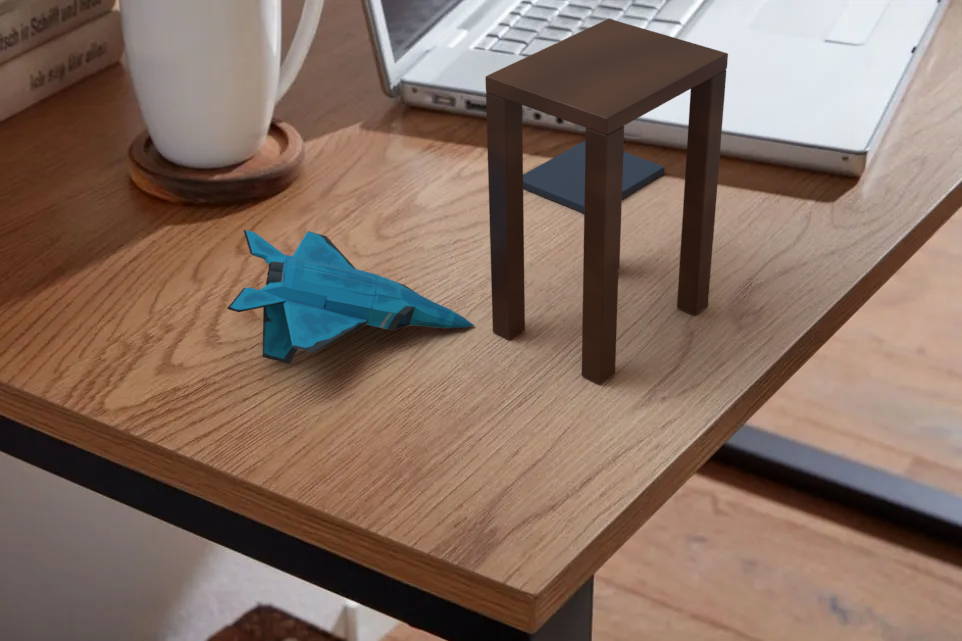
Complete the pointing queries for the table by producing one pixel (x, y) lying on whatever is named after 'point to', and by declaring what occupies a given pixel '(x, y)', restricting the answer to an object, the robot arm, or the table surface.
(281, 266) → the toy airplane
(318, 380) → the table surface
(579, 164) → the mat
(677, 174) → the table surface
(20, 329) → the table surface
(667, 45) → the wooden stool
